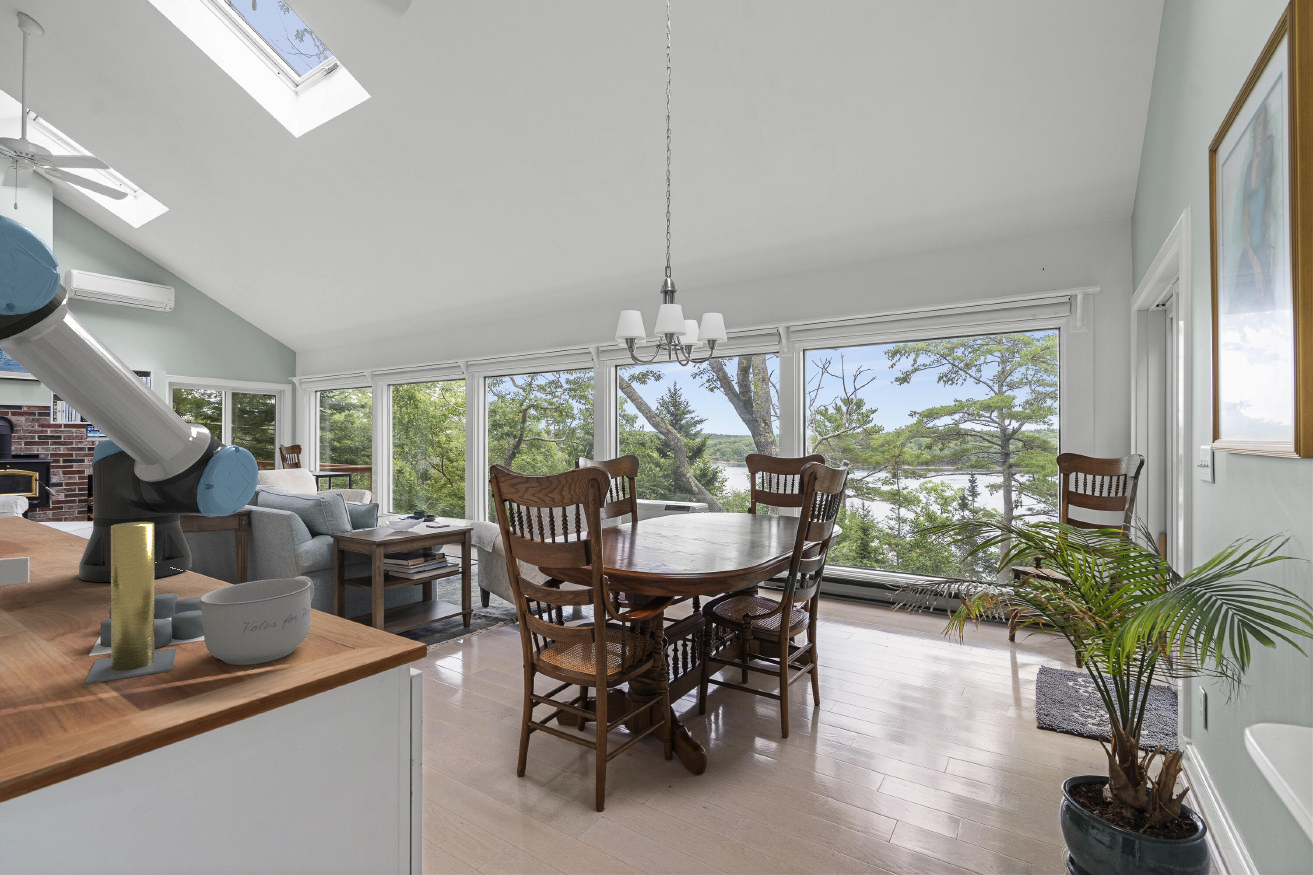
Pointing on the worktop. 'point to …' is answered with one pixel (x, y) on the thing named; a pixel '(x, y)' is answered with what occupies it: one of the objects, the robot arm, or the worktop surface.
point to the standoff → (132, 595)
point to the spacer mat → (164, 623)
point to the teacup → (257, 619)
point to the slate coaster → (106, 673)
